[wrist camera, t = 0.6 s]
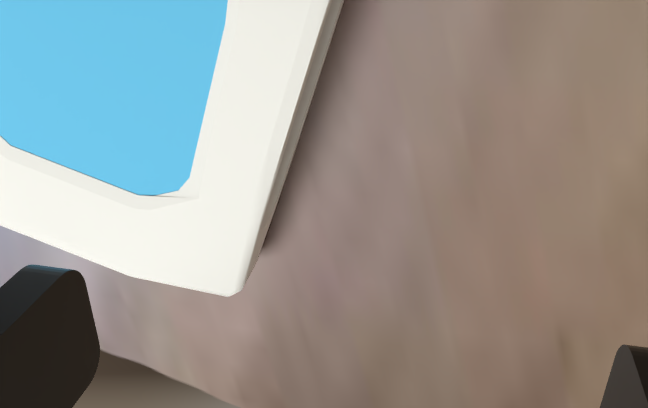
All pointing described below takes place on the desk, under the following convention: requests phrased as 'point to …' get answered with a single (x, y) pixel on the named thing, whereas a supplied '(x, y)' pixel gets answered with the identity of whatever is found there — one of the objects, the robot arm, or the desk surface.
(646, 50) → the desk surface
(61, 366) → the robot arm
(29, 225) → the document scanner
